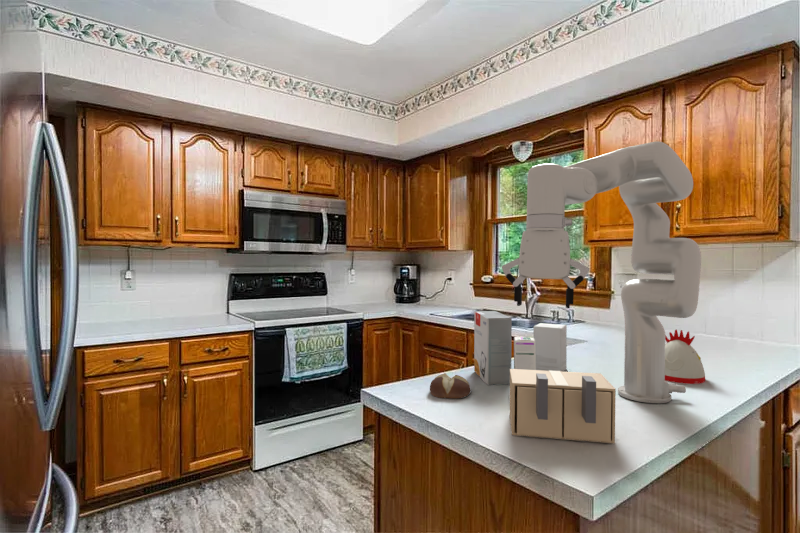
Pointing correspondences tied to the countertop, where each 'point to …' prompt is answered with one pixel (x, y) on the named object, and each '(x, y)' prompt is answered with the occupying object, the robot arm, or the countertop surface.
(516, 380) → the carton
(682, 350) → the kitchen timer
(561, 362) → the supplement box
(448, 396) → the bread
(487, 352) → the hard drive box
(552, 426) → the flap left
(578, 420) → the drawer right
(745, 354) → the countertop surface
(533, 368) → the syrup box
